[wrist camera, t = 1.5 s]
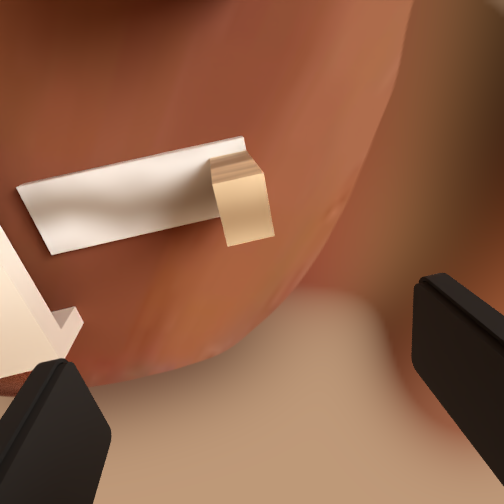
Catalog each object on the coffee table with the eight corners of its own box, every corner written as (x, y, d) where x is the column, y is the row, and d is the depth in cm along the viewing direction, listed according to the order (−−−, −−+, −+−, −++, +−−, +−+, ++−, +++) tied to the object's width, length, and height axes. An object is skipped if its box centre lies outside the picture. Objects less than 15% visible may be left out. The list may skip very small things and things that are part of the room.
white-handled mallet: (24, 182, 27) (-66, 227, 18) (241, 135, 27) (260, 155, 18) (58, 248, 29) (-6, 315, 20) (254, 203, 30) (277, 249, 21)
